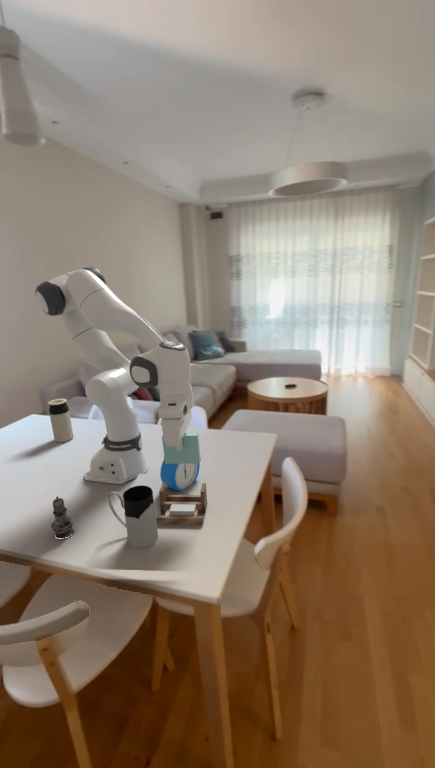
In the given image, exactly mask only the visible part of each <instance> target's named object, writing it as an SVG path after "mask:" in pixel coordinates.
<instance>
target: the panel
mask: <svg viewBox="0 0 435 768" xmlns="http://www.w3.org/2000/svg"><path fill="white" fill-rule="evenodd" d="M161 440H162V449H163V458H164V457H165V464H188V463H199V464H200V463H201V452H200V449H201V448H200V440H199V432H194V433H192V432H190V433H187V432H186V433H185V434H184V436H183V438H182V443H183V450H182V451H177V450H176V447H167V446H166V445H165V443H164V438H163V435H161Z"/></svg>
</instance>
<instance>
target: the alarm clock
mask: <svg viewBox="0 0 435 768" xmlns="http://www.w3.org/2000/svg"><path fill="white" fill-rule="evenodd" d="M200 466H201V465H200V463H188V464H165V457H164V456H163V461H162V463H161V465H160V471H159V472H160V474H159V475H160V479H161V482H162V484H163V483H166V487H167V488H169V489H172V490H174V491H177V492H182V491H184V490H185V488H187V487H188V486H190V485H192V484H194V483H196V481H197V480H198V479H197V478H198V476H199V472H200Z"/></svg>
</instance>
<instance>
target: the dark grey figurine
mask: <svg viewBox="0 0 435 768" xmlns="http://www.w3.org/2000/svg"><path fill="white" fill-rule="evenodd" d="M52 507H53V511H52V514H53V515H54V519H55V520H54V521H52V523H50V524H51V525H50V528H51V529H52V531H53V532H54V535H56V537H57V538H65V537H68V536H70V535H71V534H73V532H74V533H75V529H74V528H73V524H74V518H73V517H72V516H68V515H67V511H68V508H67V507H66V504H65V500H64V499H63V498H61V497H59V496H56V497H55V499H54V500H53V501H52ZM55 533H56V534H55ZM73 535H74V534H73Z"/></svg>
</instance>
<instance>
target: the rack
mask: <svg viewBox="0 0 435 768" xmlns="http://www.w3.org/2000/svg"><path fill="white" fill-rule="evenodd" d="M200 487H201V488H200V492H199V493H200V494H168V487H167V486H166V483H163V482H162V485H160V488H159V491H158V494H159V502H160V505H159V506H160V512H161V513H160V514H159V515H157V514H156V520H157V525H204V521H205V517H206V511H207V507H208V496H207V495H208V493H207V483H205V482H202V484H201V486H200ZM172 504H196V509H198V516H166V515H165V513H166V511H167V509H170V508H171V505H172Z"/></svg>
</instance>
